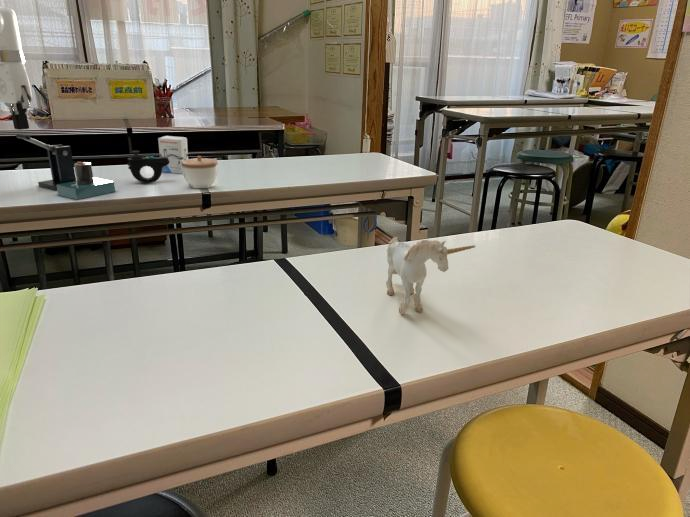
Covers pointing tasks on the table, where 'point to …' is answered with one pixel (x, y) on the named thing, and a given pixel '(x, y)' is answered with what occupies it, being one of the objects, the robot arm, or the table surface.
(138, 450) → the table surface
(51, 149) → the lever
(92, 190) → the dial panel
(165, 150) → the ink box
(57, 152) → the toaster bracket
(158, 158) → the black holed piece
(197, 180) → the trinket box
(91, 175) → the dial
